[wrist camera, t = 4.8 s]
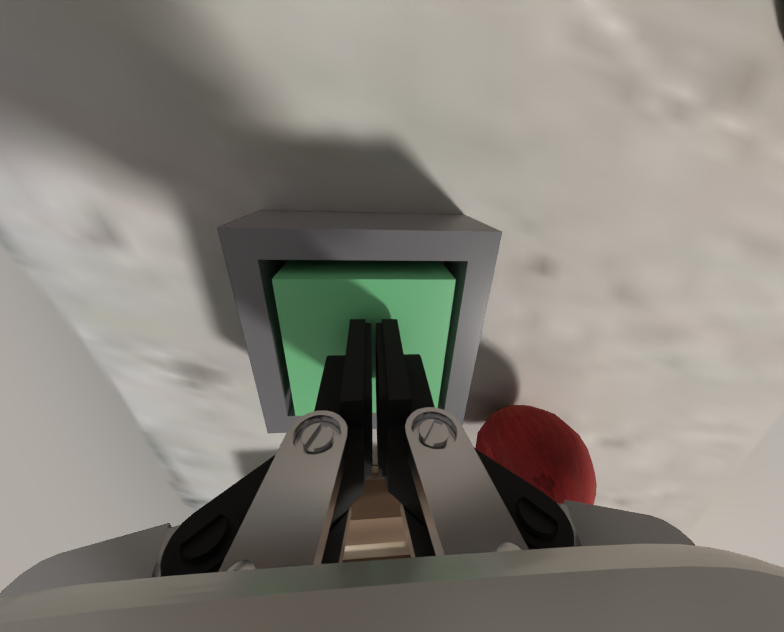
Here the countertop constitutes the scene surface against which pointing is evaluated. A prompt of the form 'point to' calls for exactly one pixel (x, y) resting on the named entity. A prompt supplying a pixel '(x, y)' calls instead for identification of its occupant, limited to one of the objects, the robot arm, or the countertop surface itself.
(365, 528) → the open box
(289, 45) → the countertop surface
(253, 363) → the button housing
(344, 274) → the button
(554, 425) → the onion
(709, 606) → the robot arm
